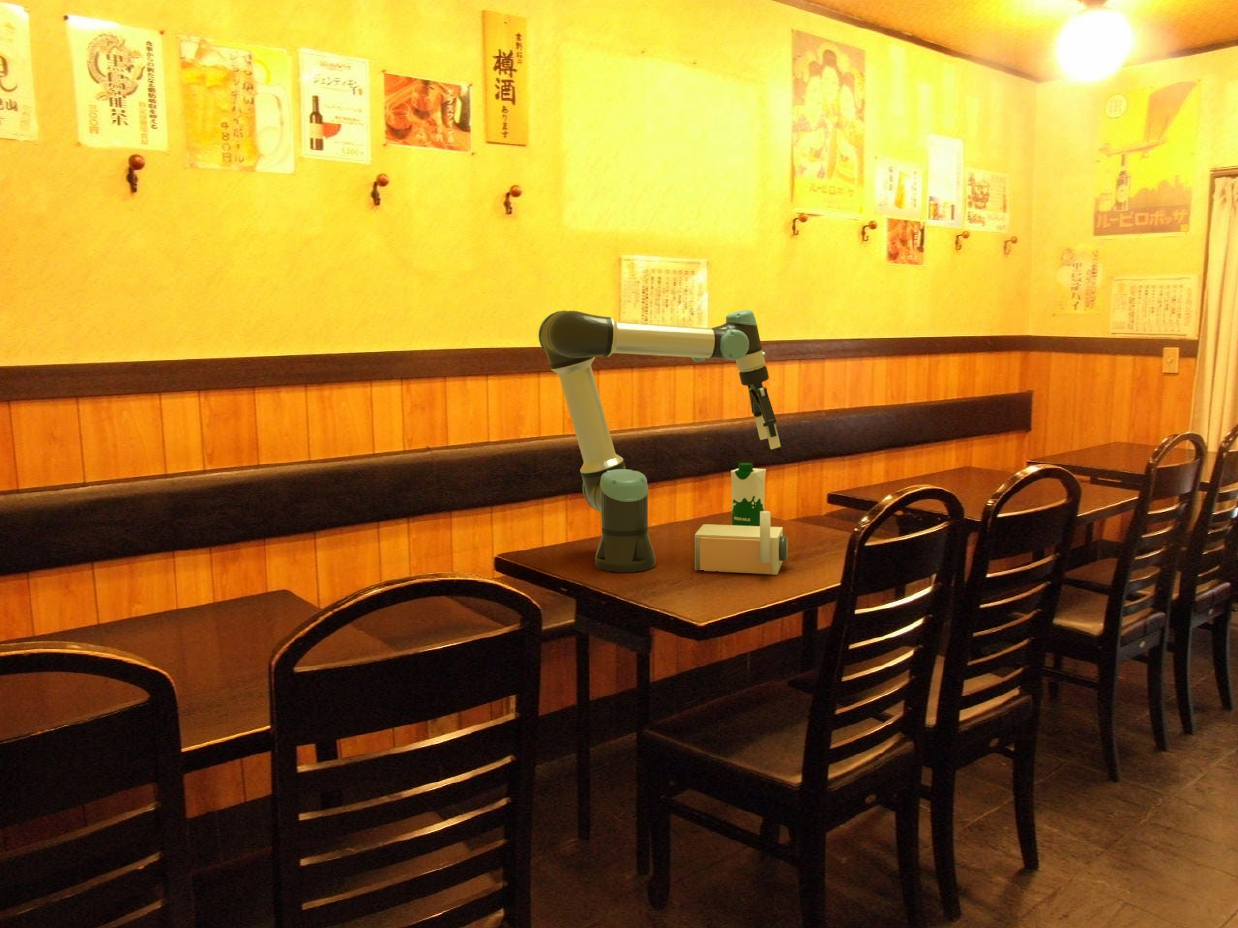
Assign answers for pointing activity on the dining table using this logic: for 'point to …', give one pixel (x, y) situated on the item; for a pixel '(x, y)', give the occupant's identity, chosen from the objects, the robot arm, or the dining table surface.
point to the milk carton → (747, 494)
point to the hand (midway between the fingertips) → (770, 443)
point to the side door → (736, 552)
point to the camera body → (749, 532)
